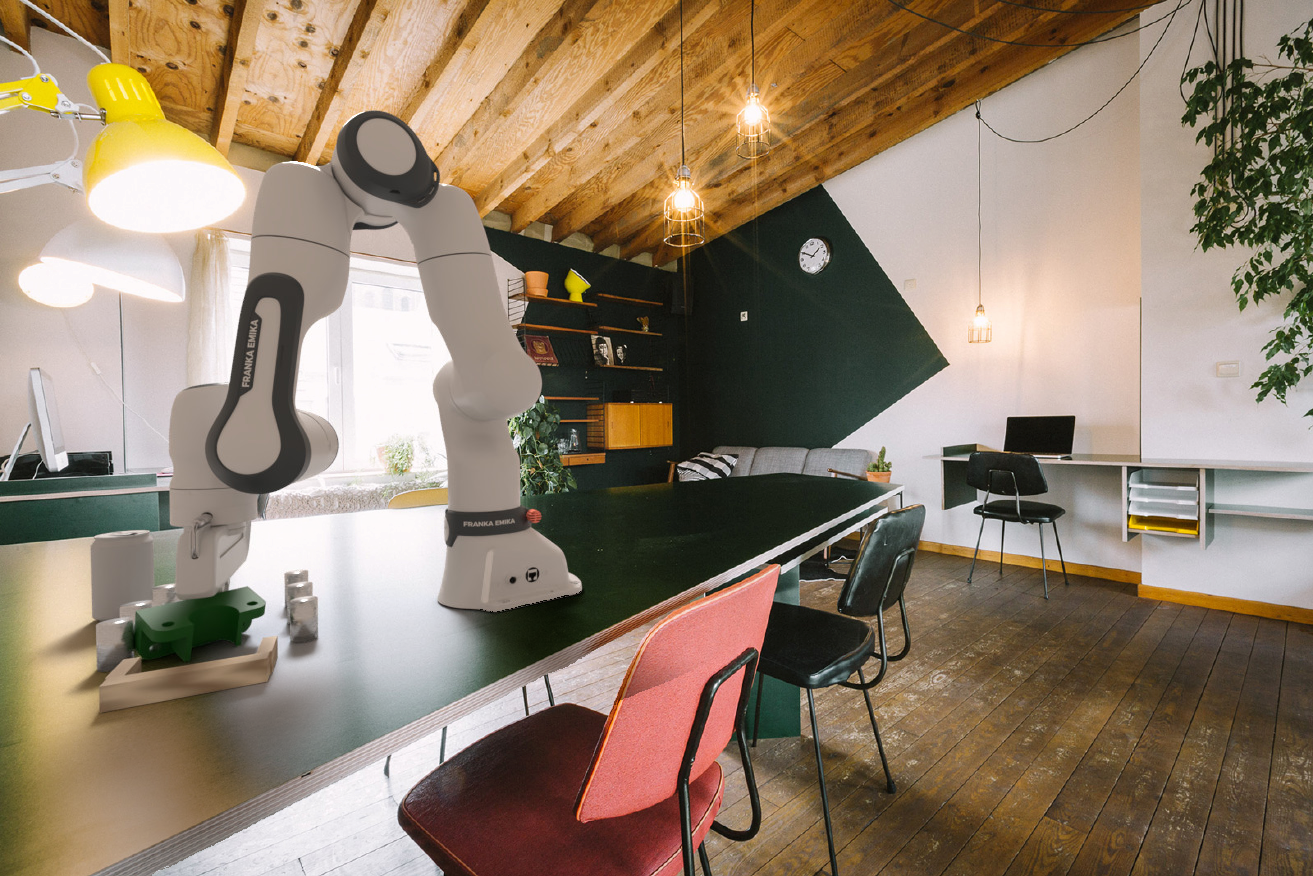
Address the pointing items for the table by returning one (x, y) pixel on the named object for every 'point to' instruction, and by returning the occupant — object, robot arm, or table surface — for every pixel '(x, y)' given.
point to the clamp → (195, 623)
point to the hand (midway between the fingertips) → (216, 614)
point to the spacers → (119, 632)
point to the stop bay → (184, 678)
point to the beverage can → (120, 571)
